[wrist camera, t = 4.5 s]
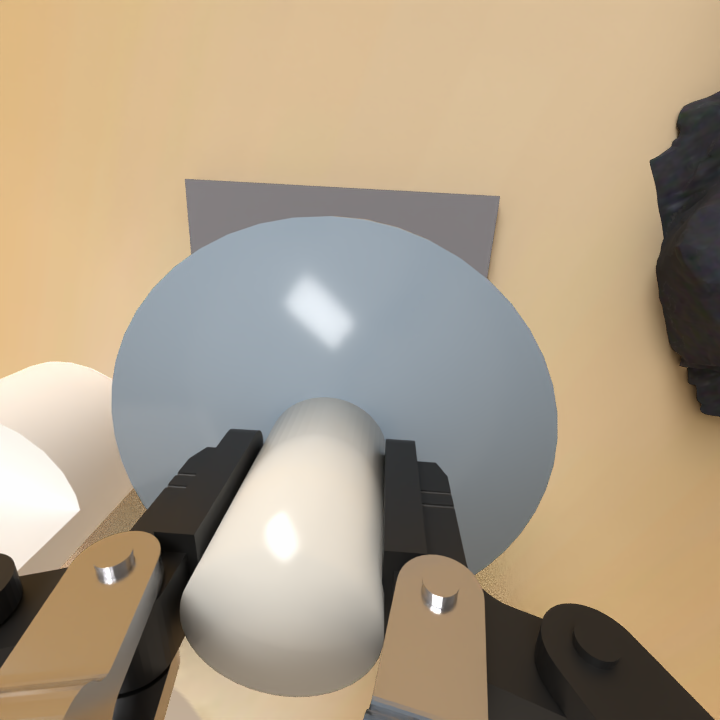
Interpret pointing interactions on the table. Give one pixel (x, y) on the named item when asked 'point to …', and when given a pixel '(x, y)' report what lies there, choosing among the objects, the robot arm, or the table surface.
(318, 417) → the lid
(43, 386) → the white cylinder
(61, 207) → the table surface
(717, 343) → the dark slate chunk
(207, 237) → the mat
